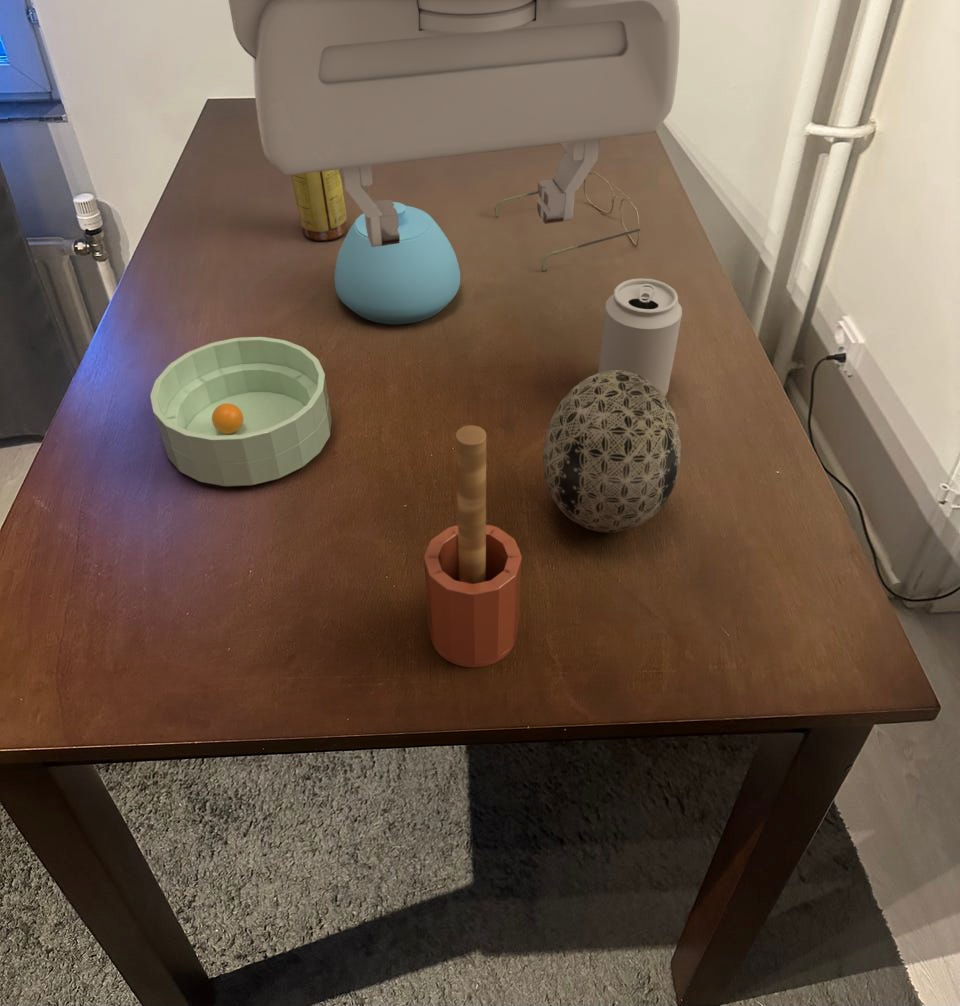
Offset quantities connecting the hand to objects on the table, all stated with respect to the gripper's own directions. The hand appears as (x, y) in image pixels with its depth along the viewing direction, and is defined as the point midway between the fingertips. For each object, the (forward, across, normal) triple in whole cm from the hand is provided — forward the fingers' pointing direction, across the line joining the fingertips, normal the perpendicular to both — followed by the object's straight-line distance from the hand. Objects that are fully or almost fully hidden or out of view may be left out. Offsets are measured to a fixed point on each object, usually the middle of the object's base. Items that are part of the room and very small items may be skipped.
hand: (470, 229), depth 48 cm
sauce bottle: (+35, -2, +70) cm, 79 cm away
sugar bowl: (+35, +4, +52) cm, 63 cm away
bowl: (+35, -15, +30) cm, 48 cm away
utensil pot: (+35, 0, 0) cm, 35 cm away
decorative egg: (+35, +15, +10) cm, 39 cm away
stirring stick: (+34, 0, 0) cm, 34 cm away
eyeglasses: (+35, +30, +61) cm, 77 cm away
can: (+35, +24, +26) cm, 50 cm away
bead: (+33, -17, +30) cm, 48 cm away
